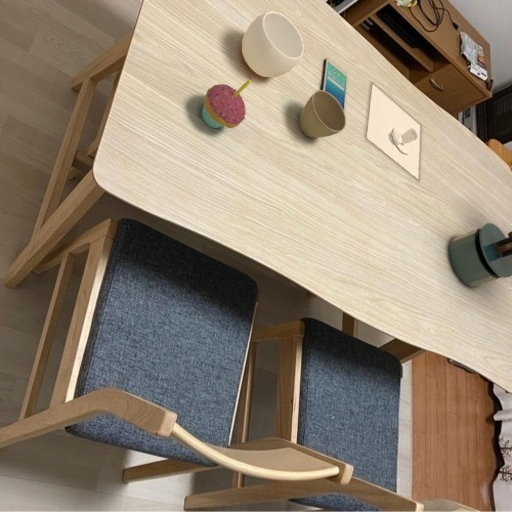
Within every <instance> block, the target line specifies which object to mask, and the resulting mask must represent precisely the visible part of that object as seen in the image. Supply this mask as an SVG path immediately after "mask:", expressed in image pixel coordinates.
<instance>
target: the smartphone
mask: <svg viewBox="0 0 512 512" xmlns="http://www.w3.org/2000/svg"><path fill="white" fill-rule="evenodd" d="M348 77H349V75H348V72H347V71H346V70H345V69H343V68H342V66H340V65H339V64H337V63H336V62H335V61H334V60H332V59H331V58H330V57H326V58H325V59H324V64H323V74H322V83H321V90H323V91H326V92H328V93H330V94H331V95H332V96H334V97H335V98H336V99H337V101H338V102H339V103H340V105H341V106H342V108H343V110H344V113H346V103H347V101H346V100H347V89H348V88H347V87H348Z"/></svg>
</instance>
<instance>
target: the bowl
mask: <svg viewBox="0 0 512 512" xmlns="http://www.w3.org/2000/svg"><path fill="white" fill-rule="evenodd" d="M480 230H481V227H480V228H478V227H477V228H476V229H473V230H471V231H468V232H466V233H464V234H461V235H458V236H456V237H454V238H452V240H451V241H450V243H449V246H448V257H449V261H450V264H451V267H452V269H453V271H454V273H455V275H456V276H457V278H458V279H459V280H460V281H461V282H462V283H463V284H464V285H465V286H468V287H470V288H471V287H473V288H474V287H477V286H480V285H484V284H486V283H489V282H493V281H495V280H500V279H502V277H500V276H498V275H497V274H496V273H495V272H494V271H493V270H492V269H491V267H490V266H489V264H488V263H487V261H486V259H485V257H484V254H483V252H482V249H481V245H480Z"/></svg>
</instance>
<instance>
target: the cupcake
mask: <svg viewBox="0 0 512 512" xmlns="http://www.w3.org/2000/svg"><path fill="white" fill-rule="evenodd" d="M253 79H254V76H252V77H251V78H249V79H247V80H246V81H245V82H244V83H243V84H242V85H241V86H240V87H239V88H238V89H236V88H235V89H234V88H233V87H231V86H230V85H229V84H224V83H221V84H219V83H218V84H214V85H213V86H210V87H209V88H208V89H207V91H206V93H205V96H204V98H203V101H204V105H203V106H202V108H201V117H202V119H203V121H204V122H205V124H206V125H207V126H209V127H210V128H213V129H219V128H222V127H225V128H227V129H234V128H236V127H238V126H239V125H240V124H241V123H243V121H244V120H245V119H246V112H247V109H246V104H245V100H244V99H243V96H241V93H242V92H243V91H244V90H245V89H246V88H247V87H248V86H249V85H250V84H251V83H252V80H253Z"/></svg>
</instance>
